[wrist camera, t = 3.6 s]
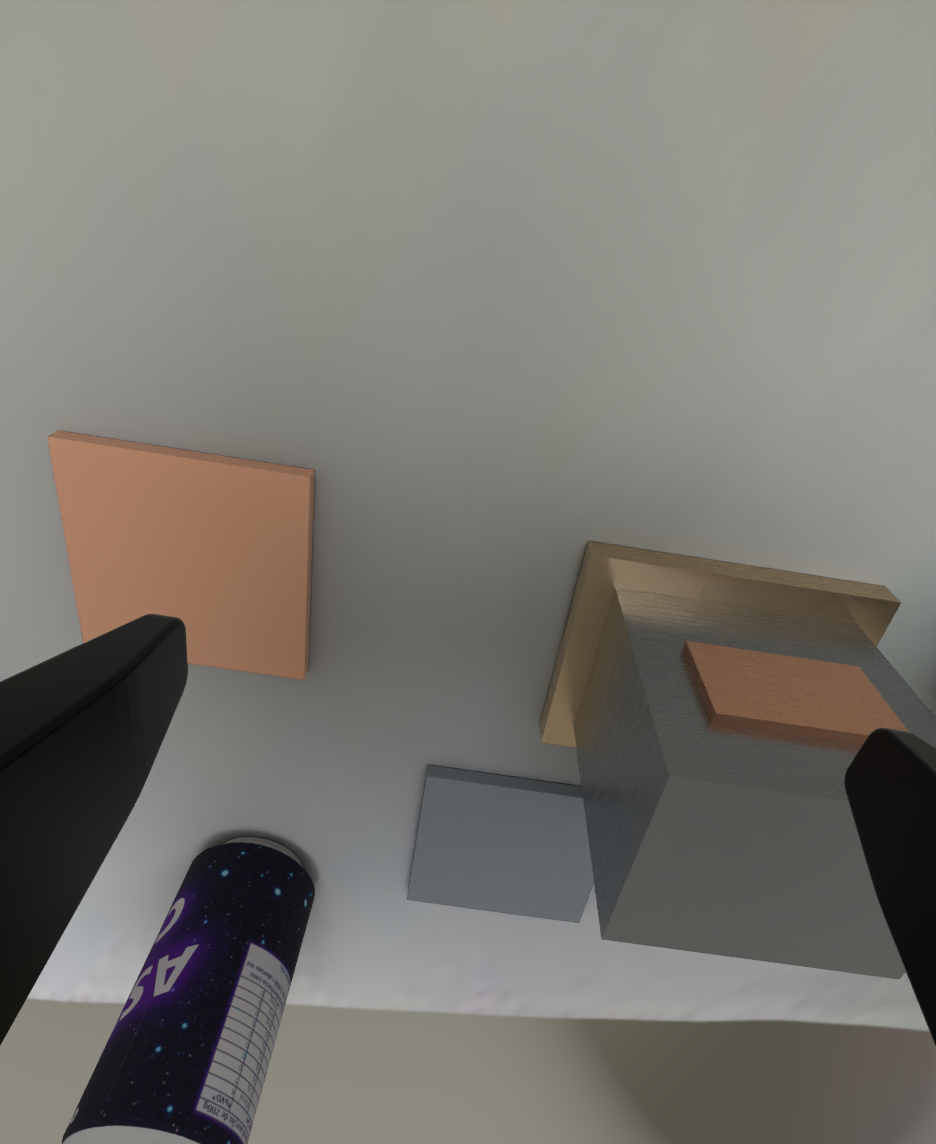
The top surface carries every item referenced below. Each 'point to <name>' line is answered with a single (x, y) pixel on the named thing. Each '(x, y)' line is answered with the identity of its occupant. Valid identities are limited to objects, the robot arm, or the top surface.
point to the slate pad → (502, 845)
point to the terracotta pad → (190, 547)
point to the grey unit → (728, 754)
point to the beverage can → (203, 1005)
